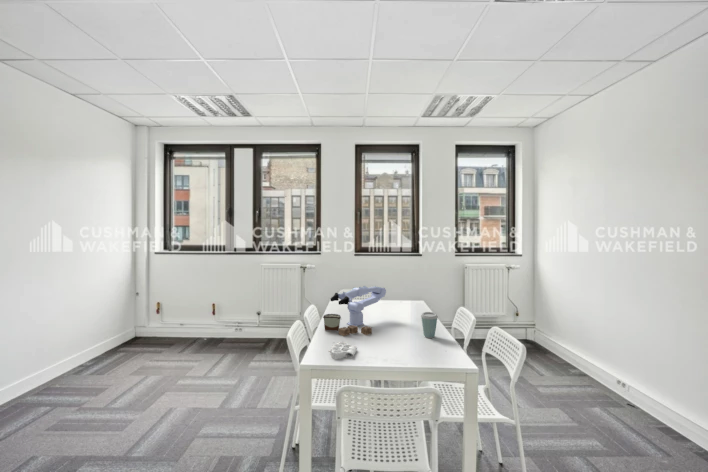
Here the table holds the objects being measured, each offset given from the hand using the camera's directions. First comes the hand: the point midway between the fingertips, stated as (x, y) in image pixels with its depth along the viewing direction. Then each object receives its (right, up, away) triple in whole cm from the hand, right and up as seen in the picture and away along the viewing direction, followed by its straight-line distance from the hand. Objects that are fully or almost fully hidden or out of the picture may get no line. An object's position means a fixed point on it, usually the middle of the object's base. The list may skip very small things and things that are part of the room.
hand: (334, 301), depth 226 cm
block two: (+6, -20, -8) cm, 22 cm away
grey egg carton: (+6, -21, -39) cm, 45 cm away
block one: (+21, -20, -4) cm, 30 cm away
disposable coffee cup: (+61, -21, -8) cm, 65 cm away
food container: (-2, -20, +2) cm, 20 cm away
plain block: (+12, -20, -3) cm, 23 cm away
